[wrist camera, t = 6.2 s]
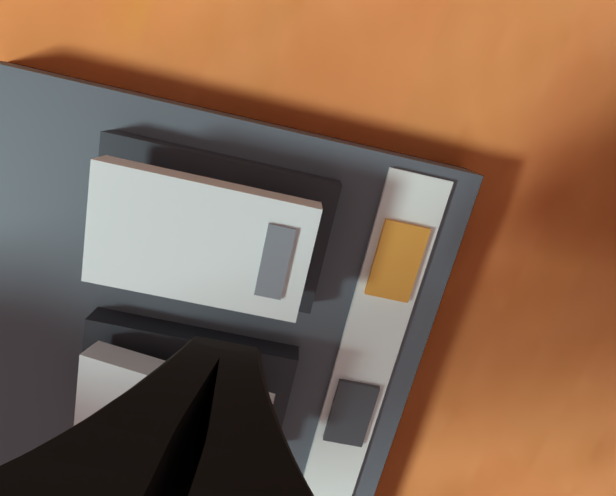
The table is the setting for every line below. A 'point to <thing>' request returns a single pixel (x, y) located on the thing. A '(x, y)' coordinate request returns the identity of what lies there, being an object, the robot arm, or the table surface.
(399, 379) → the panel
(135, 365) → the rocker
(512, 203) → the table surface
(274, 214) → the rocker
